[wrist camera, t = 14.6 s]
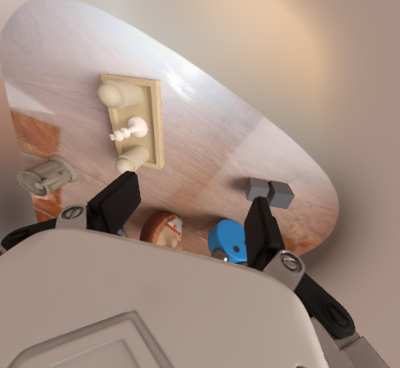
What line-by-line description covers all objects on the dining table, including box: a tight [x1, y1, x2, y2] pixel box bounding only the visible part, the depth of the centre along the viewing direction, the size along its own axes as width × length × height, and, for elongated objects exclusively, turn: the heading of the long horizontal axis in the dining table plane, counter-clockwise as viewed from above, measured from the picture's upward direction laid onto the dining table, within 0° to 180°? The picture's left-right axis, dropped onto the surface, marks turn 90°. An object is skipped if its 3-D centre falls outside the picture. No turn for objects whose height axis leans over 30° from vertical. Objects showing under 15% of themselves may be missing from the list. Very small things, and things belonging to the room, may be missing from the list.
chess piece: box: [110, 116, 148, 141], centre depth 33 cm, size 5×5×10 cm
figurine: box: [140, 212, 183, 250], centre depth 49 cm, size 14×16×15 cm
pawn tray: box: [97, 74, 164, 174], centre depth 33 cm, size 20×12×11 cm, turn 174°
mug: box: [17, 155, 79, 197], centre depth 45 cm, size 14×10×12 cm
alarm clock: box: [208, 219, 248, 267], centre depth 45 cm, size 13×6×15 cm, turn 63°
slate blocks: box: [245, 178, 295, 209], centre depth 39 cm, size 4×10×5 cm, turn 84°
